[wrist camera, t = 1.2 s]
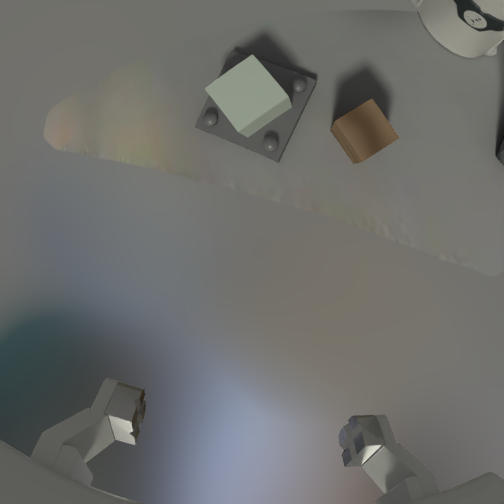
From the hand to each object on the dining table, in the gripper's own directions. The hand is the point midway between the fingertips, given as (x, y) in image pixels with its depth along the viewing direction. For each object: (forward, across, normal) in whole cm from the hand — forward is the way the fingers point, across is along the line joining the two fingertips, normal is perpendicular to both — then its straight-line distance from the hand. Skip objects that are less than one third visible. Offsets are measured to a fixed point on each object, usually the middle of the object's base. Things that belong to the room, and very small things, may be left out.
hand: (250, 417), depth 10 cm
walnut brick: (+36, -13, -13) cm, 41 cm away
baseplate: (+40, +2, -14) cm, 42 cm away
